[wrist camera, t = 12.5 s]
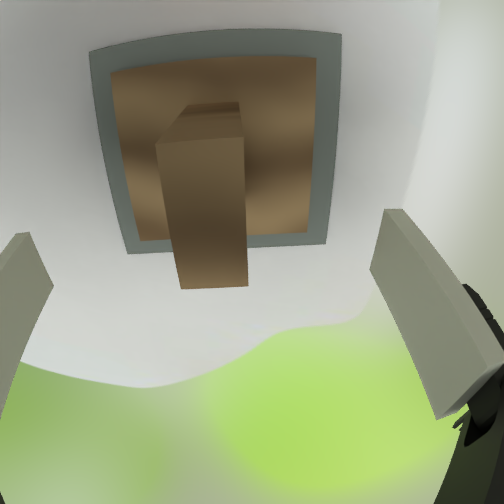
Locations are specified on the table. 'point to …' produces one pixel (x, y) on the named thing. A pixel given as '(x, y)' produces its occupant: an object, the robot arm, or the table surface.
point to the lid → (217, 156)
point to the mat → (217, 46)
